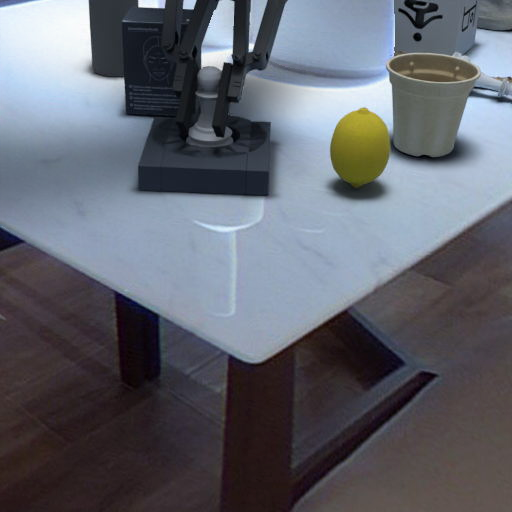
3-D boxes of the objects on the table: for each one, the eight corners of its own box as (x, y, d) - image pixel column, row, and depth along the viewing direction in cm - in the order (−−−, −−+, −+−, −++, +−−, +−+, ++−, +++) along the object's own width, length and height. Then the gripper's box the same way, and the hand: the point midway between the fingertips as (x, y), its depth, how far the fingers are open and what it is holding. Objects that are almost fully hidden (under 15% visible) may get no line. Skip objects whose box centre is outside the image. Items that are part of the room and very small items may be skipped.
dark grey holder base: (138, 190, 89) (138, 165, 88) (156, 133, 101) (155, 110, 100) (267, 195, 89) (268, 171, 88) (270, 137, 101) (271, 115, 100)
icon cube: (485, -30, 126) (474, 44, 131) (412, -40, 130) (404, 32, 135) (463, -13, 118) (452, 65, 123) (387, -25, 122) (379, 52, 127)
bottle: (83, 67, 118) (75, -58, 110) (121, 58, 121) (117, -64, 114) (110, 80, 114) (104, -49, 107) (150, 70, 118) (146, -55, 110)
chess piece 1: (236, 152, 94) (237, 74, 90) (188, 154, 93) (187, 75, 89) (230, 133, 98) (231, 57, 94) (184, 135, 97) (183, 58, 93)
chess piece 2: (442, 93, 116) (522, 120, 113) (441, 77, 112) (525, 105, 109) (455, 61, 116) (535, 87, 114) (456, 45, 112) (539, 71, 109)
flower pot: (394, 122, 105) (403, 46, 101) (478, 140, 102) (491, 61, 98) (364, 153, 98) (372, 71, 94) (454, 172, 95) (466, 89, 90)
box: (201, 100, 109) (202, 8, 104) (195, 118, 105) (195, 23, 99) (133, 96, 110) (130, 4, 105) (124, 114, 105) (120, 19, 100)
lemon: (350, 205, 88) (358, 123, 84) (315, 182, 92) (321, 103, 88) (397, 192, 90) (407, 112, 86) (361, 170, 94) (369, 93, 90)
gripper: (322, -59, 98) (286, 153, 93) (173, -70, 101) (129, 136, 95) (317, -105, 91) (278, 122, 85) (157, -116, 94) (109, 104, 88)
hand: (200, 129), depth 90 cm, fingers closed on chess piece 1, 3 cm apart
